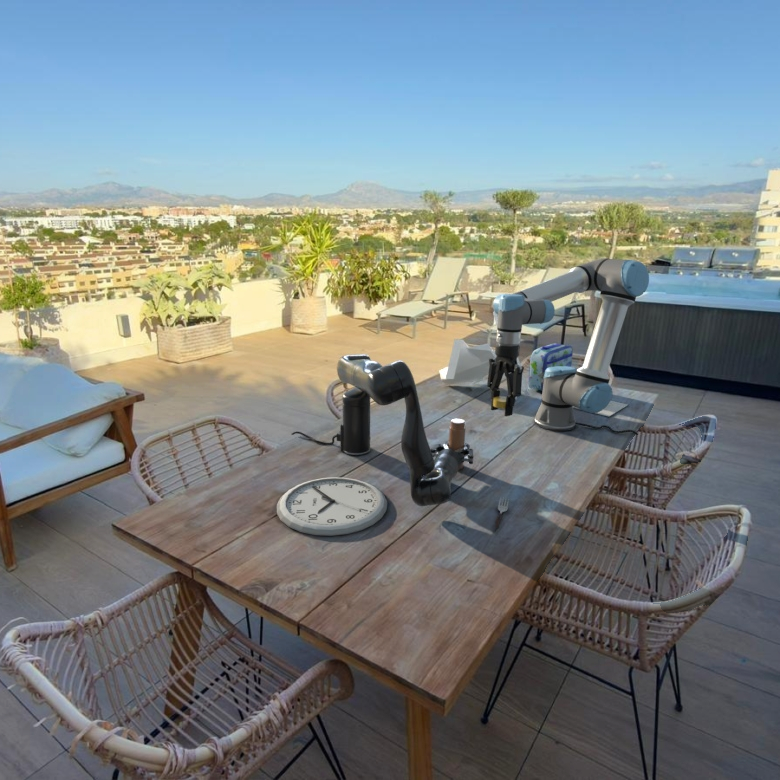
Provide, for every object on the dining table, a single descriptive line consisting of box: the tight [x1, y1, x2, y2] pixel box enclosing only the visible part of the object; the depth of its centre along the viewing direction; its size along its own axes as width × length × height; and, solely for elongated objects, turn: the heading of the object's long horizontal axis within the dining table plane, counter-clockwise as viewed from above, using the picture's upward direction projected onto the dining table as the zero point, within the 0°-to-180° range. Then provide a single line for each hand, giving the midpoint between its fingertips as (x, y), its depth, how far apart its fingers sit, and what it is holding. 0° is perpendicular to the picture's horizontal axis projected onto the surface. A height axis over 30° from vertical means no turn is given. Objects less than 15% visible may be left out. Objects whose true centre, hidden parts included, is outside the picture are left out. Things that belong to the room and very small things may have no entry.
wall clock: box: [276, 476, 388, 537], centre depth 142 cm, size 30×2×30 cm
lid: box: [493, 395, 507, 410], centre depth 172 cm, size 6×6×2 cm
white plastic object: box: [438, 310, 531, 400], centre depth 245 cm, size 37×45×31 cm
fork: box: [494, 496, 510, 532], centre depth 138 cm, size 3×16×2 cm, turn 160°
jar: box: [448, 418, 466, 470], centre depth 165 cm, size 5×5×16 cm
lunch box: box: [528, 343, 574, 392], centre depth 249 cm, size 26×11×21 cm, turn 134°
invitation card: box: [573, 400, 629, 418], centre depth 226 cm, size 21×1×15 cm
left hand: (458, 444), depth 168 cm, fingers closed on jar, 5 cm apart
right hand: (501, 412), depth 173 cm, fingers closed on lid, 6 cm apart
